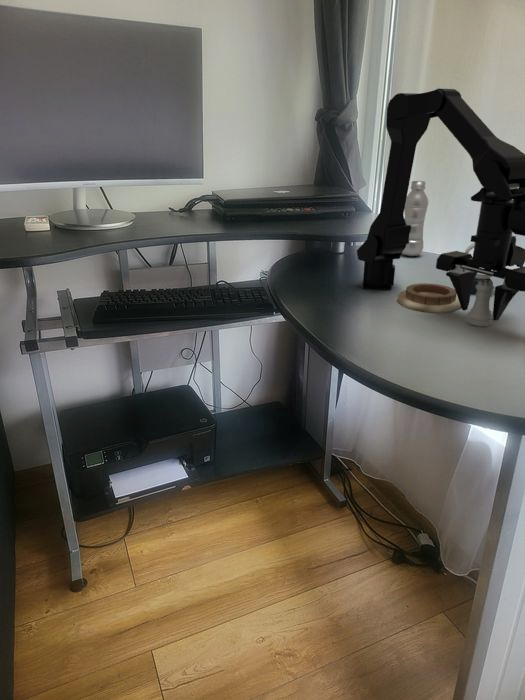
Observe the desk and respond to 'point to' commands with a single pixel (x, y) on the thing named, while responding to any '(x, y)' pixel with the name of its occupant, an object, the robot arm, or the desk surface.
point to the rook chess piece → (481, 305)
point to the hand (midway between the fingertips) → (479, 314)
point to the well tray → (429, 298)
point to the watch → (478, 276)
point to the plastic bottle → (415, 217)
